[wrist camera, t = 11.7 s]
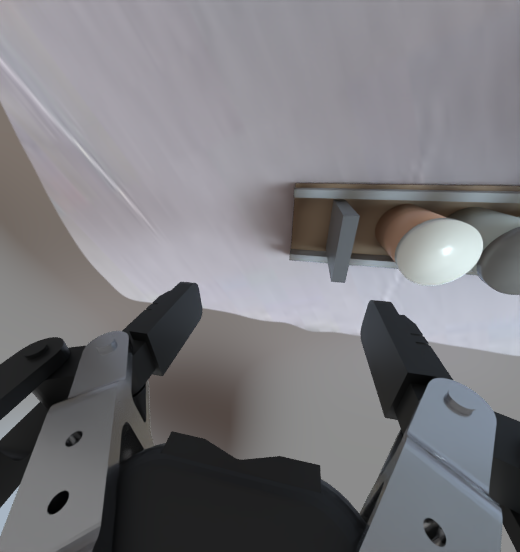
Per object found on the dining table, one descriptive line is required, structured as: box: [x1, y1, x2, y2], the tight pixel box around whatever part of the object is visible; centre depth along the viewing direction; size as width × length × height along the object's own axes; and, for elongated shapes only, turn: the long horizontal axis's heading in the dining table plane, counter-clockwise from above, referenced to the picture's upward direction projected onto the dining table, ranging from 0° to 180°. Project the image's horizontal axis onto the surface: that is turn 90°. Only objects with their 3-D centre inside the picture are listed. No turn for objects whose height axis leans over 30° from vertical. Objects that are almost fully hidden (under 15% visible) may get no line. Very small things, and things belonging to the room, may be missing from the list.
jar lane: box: [289, 183, 520, 275], centre depth 21 cm, size 28×9×6 cm, turn 90°
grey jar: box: [447, 207, 520, 295], centre depth 19 cm, size 6×6×8 cm
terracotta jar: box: [375, 204, 483, 286], centre depth 20 cm, size 6×6×8 cm
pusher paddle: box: [326, 199, 360, 283], centre depth 21 cm, size 1×6×8 cm, turn 0°
